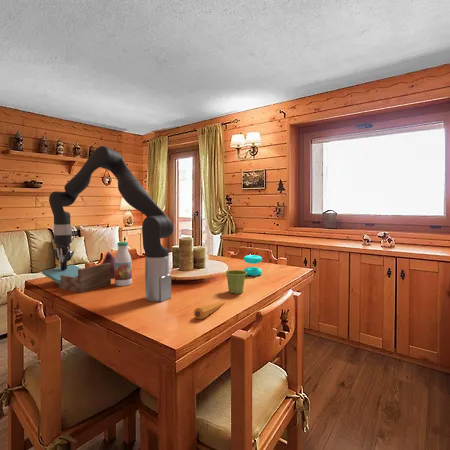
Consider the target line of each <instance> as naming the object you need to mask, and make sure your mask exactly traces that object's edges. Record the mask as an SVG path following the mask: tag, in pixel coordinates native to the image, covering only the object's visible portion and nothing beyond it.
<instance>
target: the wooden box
mask: <svg viewBox="0 0 450 450" xmlns="http://www.w3.org/2000/svg"><path fill="white" fill-rule="evenodd" d="M57 284H58V285H57V286H58V287H57V288H58V289H60V290H65V291H69V292H73V293H74V292H75V293H79V294H83V293H86V292H89V291H93V290H96V288H97V289H99V288H103V287H107V286H111V284H112V279H111V268H110V263H106V264H103V263H102V264H98V265H97V264H96V265H93V266H88V267H84V268H81V269H78V278H76V277H70V276H65V275H61V283H57ZM106 285H107V286H106Z"/></svg>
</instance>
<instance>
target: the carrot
mask: <svg viewBox="0 0 450 450" xmlns="http://www.w3.org/2000/svg"><path fill="white" fill-rule="evenodd" d="M224 304H225V302H215V303H209V304H204V305H199V306H197V307H196V308H195V309H194V311H193V316H194V317H195V318H196V319H198V320H204V319H205V318H207V317H209V316H210V315H211V314H213V312H215V311H216V310H218V309H219V308H221V307H222V306H223V305H224ZM209 314H210V315H209Z"/></svg>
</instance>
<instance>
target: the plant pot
mask: <svg viewBox="0 0 450 450" xmlns="http://www.w3.org/2000/svg"><path fill="white" fill-rule="evenodd" d="M224 274H225V276H226V281H227V286H228V292H229V293H230V294H234V295H237V294H241V293H243V292H244V286H245V280H246V279H245V278H246V276H247V275H246V274H247V272H245V271H244V270H237V269H235V270H234V269H231V270H227V271H225V272H224Z"/></svg>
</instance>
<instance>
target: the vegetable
mask: <svg viewBox="0 0 450 450" xmlns="http://www.w3.org/2000/svg"><path fill="white" fill-rule="evenodd" d="M114 262H115V257H114V256H113V254H112V253H111V252H109V251H107V253H106V255H105V258H104V259H103V262H102V264H106V263H110V268H111V280H112V279H113V280H114V279H115V271H114Z"/></svg>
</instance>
